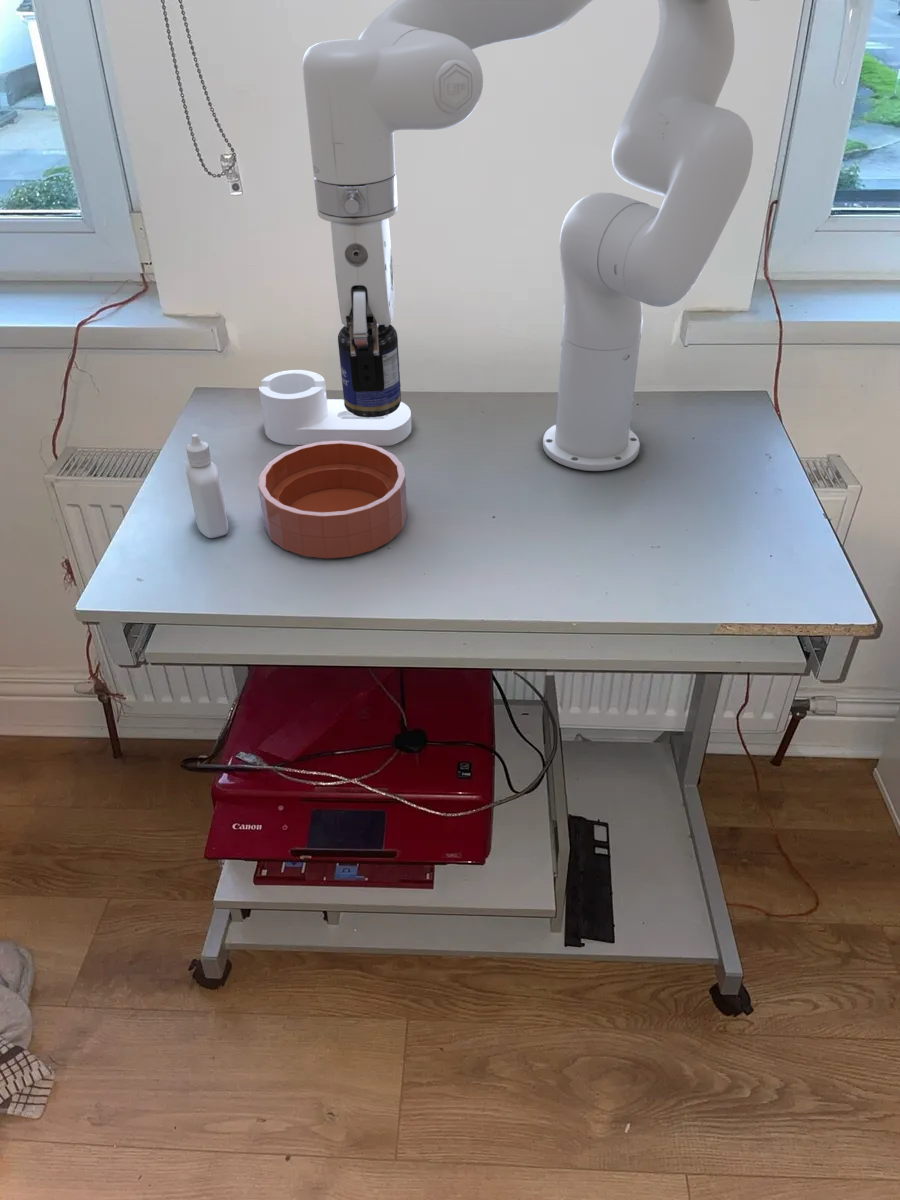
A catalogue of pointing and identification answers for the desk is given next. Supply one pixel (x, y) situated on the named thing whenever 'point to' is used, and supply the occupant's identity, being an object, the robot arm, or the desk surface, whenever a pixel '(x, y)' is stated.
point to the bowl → (333, 498)
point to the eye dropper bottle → (206, 490)
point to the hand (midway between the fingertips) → (370, 373)
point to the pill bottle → (391, 395)
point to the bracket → (322, 414)
